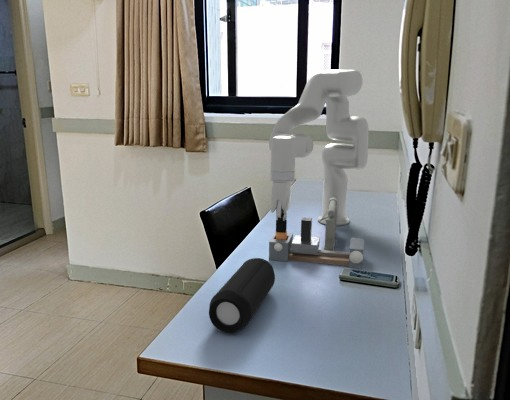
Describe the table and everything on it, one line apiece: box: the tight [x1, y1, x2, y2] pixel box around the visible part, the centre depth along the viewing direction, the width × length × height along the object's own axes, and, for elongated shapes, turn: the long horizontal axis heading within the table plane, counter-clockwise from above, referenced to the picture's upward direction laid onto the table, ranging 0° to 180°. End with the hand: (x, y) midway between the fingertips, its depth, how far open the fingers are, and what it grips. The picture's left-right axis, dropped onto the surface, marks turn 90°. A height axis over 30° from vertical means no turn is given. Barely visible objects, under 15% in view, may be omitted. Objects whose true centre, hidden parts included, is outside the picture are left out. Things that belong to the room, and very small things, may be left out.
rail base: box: [288, 248, 350, 267], centre depth 149 cm, size 8×29×2 cm, turn 77°
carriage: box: [291, 217, 321, 254], centre depth 148 cm, size 8×8×10 cm
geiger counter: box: [318, 197, 340, 251], centre depth 166 cm, size 14×6×25 cm
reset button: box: [275, 230, 288, 240], centre depth 150 cm, size 4×4×4 cm
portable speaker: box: [208, 257, 276, 334], centre depth 114 cm, size 26×10×10 cm, turn 162°
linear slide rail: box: [268, 231, 365, 269], centre depth 148 cm, size 10×29×6 cm, turn 77°
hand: (281, 231), depth 149 cm, fingers closed
